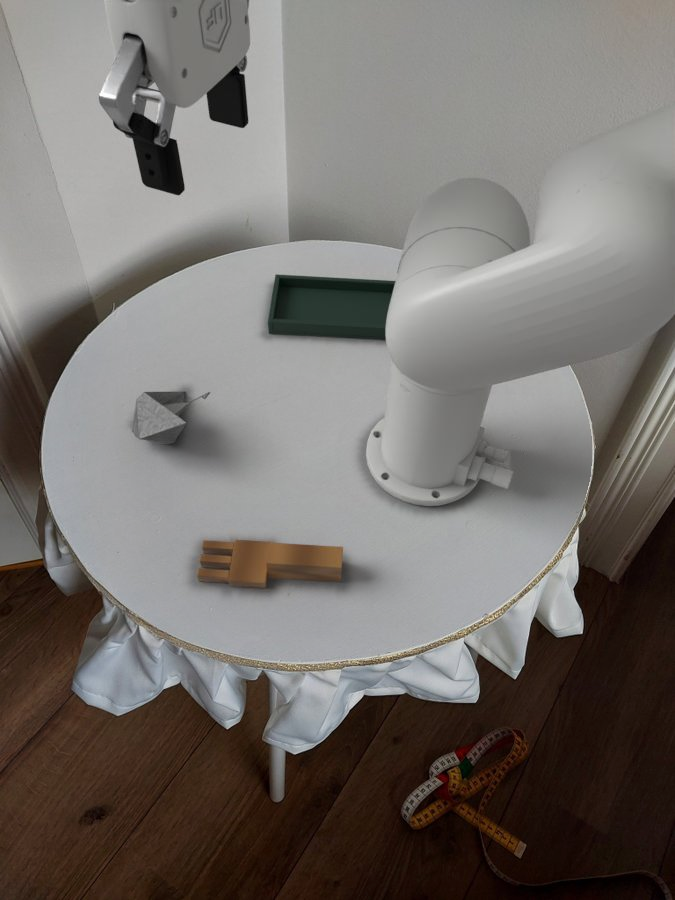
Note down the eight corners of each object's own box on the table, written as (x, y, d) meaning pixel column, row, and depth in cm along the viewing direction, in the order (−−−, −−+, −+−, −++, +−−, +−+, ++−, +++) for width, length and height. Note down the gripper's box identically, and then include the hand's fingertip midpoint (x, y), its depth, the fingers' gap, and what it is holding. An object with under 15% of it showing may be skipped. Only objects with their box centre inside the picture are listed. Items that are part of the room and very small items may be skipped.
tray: (409, 293, 93) (410, 281, 92) (409, 341, 88) (411, 329, 87) (276, 286, 94) (275, 274, 92) (268, 333, 88) (267, 321, 87)
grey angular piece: (119, 390, 81) (193, 352, 81) (149, 437, 84) (220, 401, 84) (112, 424, 70) (197, 381, 70) (146, 477, 73) (228, 435, 73)
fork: (342, 551, 71) (343, 536, 68) (340, 593, 68) (341, 578, 66) (205, 543, 71) (201, 527, 69) (197, 584, 68) (193, 569, 66)
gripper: (128, -64, 35) (183, 232, 49) (283, -160, 45) (292, 110, 58) (2, -89, 37) (89, 204, 50) (177, -176, 46) (210, 91, 60)
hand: (198, 154), depth 54 cm, fingers open, 9 cm apart
